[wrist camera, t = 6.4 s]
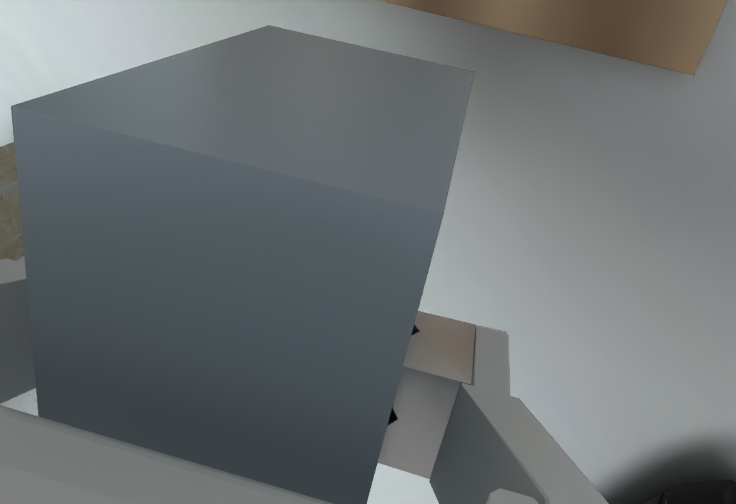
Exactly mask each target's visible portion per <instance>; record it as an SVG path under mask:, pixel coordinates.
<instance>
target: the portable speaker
mask: <svg viewBox="0 0 736 504" xmlns="http://www.w3.org/2000/svg"><path fill="white" fill-rule="evenodd" d="M643 504H736V481H733V480H719V481H711V482H704V483H696V484H688V485H680V486H674V487H672V488H671V489H670V490H669V491H668V492H666V493H664V492H662V493H661V494H659V495H657V496H655V497H654V498H652V499H650V500H648V501H647V502H645V503H643Z"/></svg>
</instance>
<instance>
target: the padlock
mask: <svg viewBox="0 0 736 504" xmlns="http://www.w3.org/2000/svg"><path fill="white" fill-rule="evenodd" d="M23 256H24V247H23V236H22V224H21V213H20V202H19V190H18V179H17V168H16V156H15V145H14V142H12V143H10V144H7V145H5V146H2V147H0V260H1V259H10V260H14V261H16V260H18V259H20V258H21V257H23Z"/></svg>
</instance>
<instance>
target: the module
mask: <svg viewBox="0 0 736 504" xmlns="http://www.w3.org/2000/svg"><path fill="white" fill-rule="evenodd" d="M473 76H474V72H472V71H468V70H463V69H459V68H454V67H450V66H446V65H441V64H437V63H432V62H428V61H424V60H419V59H415V58H410V57H406V56H401V55H397V54H393V53H388V52H384V51H379V50H375V49H371V48H366V47H362V46H357V45H353V44H349V43H344V42H340V41H335V40H331V39H327V38H322V37H318V36H313V35H309V34H305V33H300V32H296V31H291V30H287V29H282V28H278V27H274V26H265V27H262V28H259V29H256V30H253V31H249V32H246V33H243V34H240V35H237V36H233V37H230V38H227V39H224V40H221V41H217V42H214V43H211V44H208V45H205V46H202V47H198V48H195V49H192V50H189V51H186V52H182V53H179V54H176V55H173V56H170V57H166V58H163V59H160V60H157V61H154V62H150V63H147V64H144V65H141V66H138V67H134V68H131V69H128V70H125V71H122V72H118V73H115V74H112V75H109V76H106V77H103V78H99V79H96V80H93V81H90V82H87V83H83V84H80V85H77V86H74V87H71V88H67V89H64V90H61V91H58V92H55V93H51V94H48V95H45V96H42V97H39V98H35V99H32V100H29V101H26V102H23V103H19V104H16V105H13V106H11V111H12V122H13V134H14V145H15V156H16V168H17V179H18V190H19V202H20V213H21V224H22V236H23V247H24V258H25V270H26V281H27V292H28V304H29V315H30V326H31V338H32V349H33V360H34V372H35V383H36V394H37V406H38V416H39V417H42V418H45V419H49V420H52V421H56V422H59V423H62V424H66V425H69V426H72V427H76V428H79V429H83V430H86V431H89V432H93V433H96V434H99V435H103V436H106V437H110V438H113V439H116V440H120V441H123V442H126V443H130V444H133V445H136V446H140V447H143V448H147V449H150V450H153V451H157V452H160V453H163V454H167V455H170V456H174V457H177V458H180V459H184V460H187V461H191V462H194V463H197V464H201V465H204V466H208V467H211V468H214V469H218V470H221V471H225V472H228V473H231V474H235V475H238V476H241V477H245V478H248V479H252V480H255V481H258V482H262V483H265V484H268V485H272V486H275V487H279V488H282V489H285V490H289V491H292V492H295V493H299V494H302V495H306V496H309V497H312V498H316V499H319V500H322V501H326V502H329V503H333V504H367V500H368V496H369V492H370V489H371V485H372V481H373V477H374V474H375V470H376V466H377V462H378V459H379V455H380V451H381V447H382V443H383V440H384V436H385V432H386V428H387V425H388V421H389V417H390V413H391V410H392V406H393V402H394V398H395V394H396V391H397V387H398V383H399V379H400V376H401V372H402V368H403V364H404V360H405V357H406V353H407V349H408V345H409V342H410V338H411V334H412V330H413V327H414V323H415V319H416V315H417V311H418V308H419V304H420V300H421V296H422V293H423V289H424V285H425V281H426V278H427V274H428V270H429V266H430V262H431V259H432V255H433V251H434V247H435V244H436V240H437V236H438V232H439V228H440V225H441V221H442V217H443V213H444V209H445V204H446V200H447V195H448V190H449V186H450V181H451V177H452V172H453V168H454V163H455V158H456V154H457V149H458V145H459V140H460V136H461V131H462V126H463V122H464V117H465V113H466V108H467V103H468V99H469V94H470V90H471V85H472V81H473Z"/></svg>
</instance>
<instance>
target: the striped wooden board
mask: <svg viewBox="0 0 736 504" xmlns="http://www.w3.org/2000/svg"><path fill="white" fill-rule="evenodd" d="M380 1H384V2H388V3H393V4H397V5H401V6H405V7H409V8H414V9H418V10H422V11H426V12H430V13H435V14H439V15H443V16H447V17H451V18H455V19H460V20H464V21H468V22H472V23H476V24H481V25H485V26H489V27H493V28H497V29H502V30H506V31H510V32H514V33H518V34H523V35H527V36H531V37H535V38H539V39H544V40H548V41H552V42H556V43H560V44H565V45H569V46H573V47H577V48H581V49H586V50H590V51H594V52H598V53H602V54H606V55H611V56H615V57H619V58H623V59H627V60H632V61H636V62H640V63H644V64H648V65H653V66H657V67H661V68H665V69H669V70H674V71H678V72H682V73H686V74H690V75H695V73H696V70H697V68H698V66H699V64H700V61H701V59H702V57H703V55H704V52H705V50H706V48H707V46H708V43H709V41H710V39H711V37H712V34H713V32H714V30H715V28H716V25H717V23H718V21H719V19H720V16H721V14H722V12H723V10H724V7H725V5H726V3H727V1H728V0H380Z"/></svg>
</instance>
